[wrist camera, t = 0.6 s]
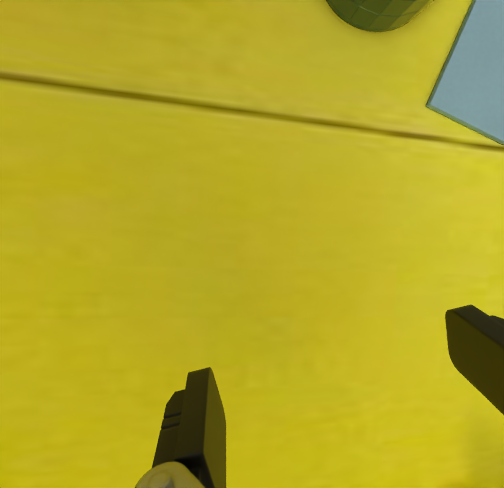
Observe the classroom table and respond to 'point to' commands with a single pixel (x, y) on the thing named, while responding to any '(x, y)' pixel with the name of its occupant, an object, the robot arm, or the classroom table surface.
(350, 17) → the pot
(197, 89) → the classroom table surface
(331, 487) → the classroom table surface
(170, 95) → the classroom table surface
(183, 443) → the robot arm
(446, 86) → the mat
